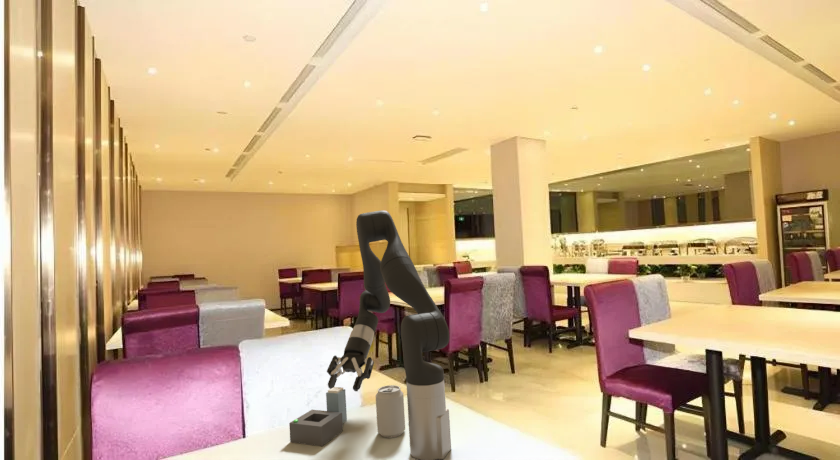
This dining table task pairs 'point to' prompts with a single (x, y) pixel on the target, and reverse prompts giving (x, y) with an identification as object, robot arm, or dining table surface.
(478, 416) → the dining table surface
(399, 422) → the can
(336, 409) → the plug
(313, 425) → the port block
